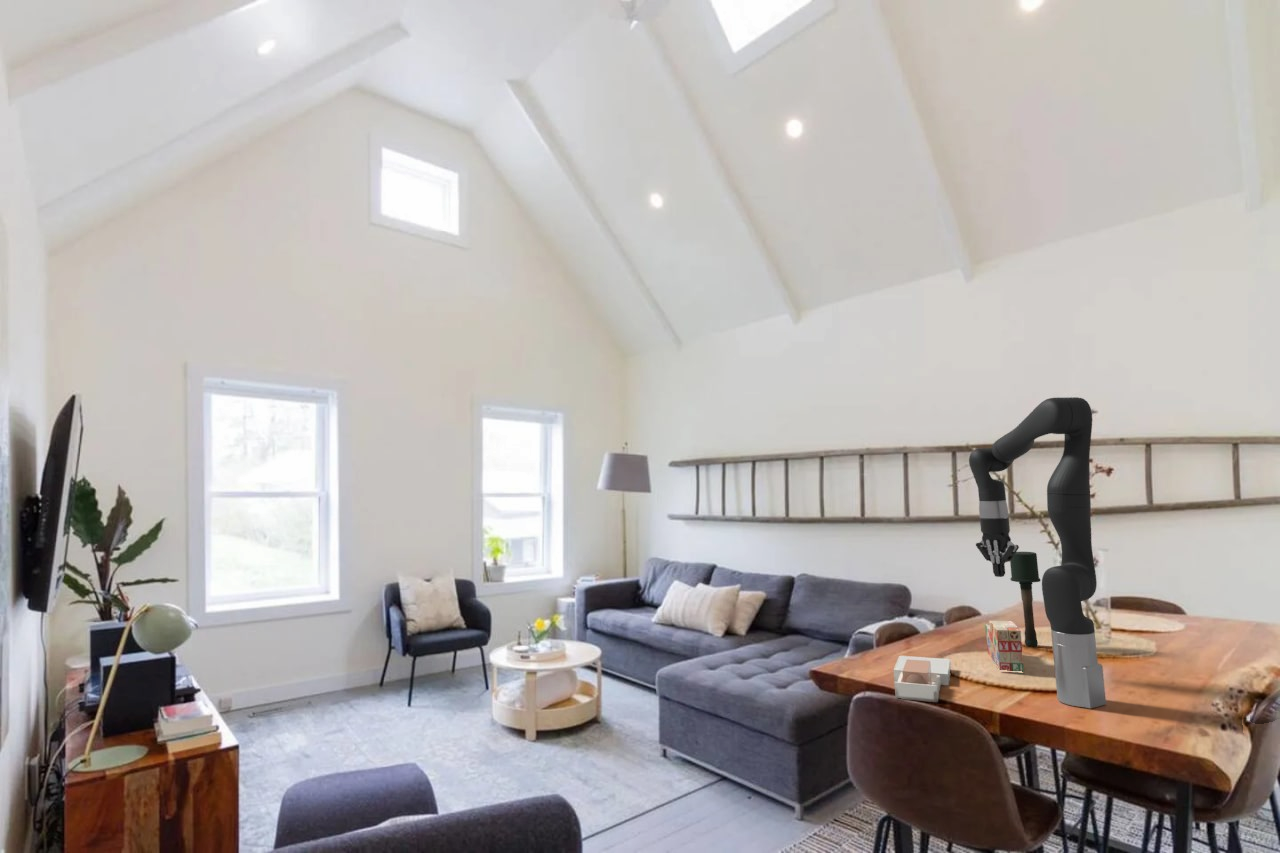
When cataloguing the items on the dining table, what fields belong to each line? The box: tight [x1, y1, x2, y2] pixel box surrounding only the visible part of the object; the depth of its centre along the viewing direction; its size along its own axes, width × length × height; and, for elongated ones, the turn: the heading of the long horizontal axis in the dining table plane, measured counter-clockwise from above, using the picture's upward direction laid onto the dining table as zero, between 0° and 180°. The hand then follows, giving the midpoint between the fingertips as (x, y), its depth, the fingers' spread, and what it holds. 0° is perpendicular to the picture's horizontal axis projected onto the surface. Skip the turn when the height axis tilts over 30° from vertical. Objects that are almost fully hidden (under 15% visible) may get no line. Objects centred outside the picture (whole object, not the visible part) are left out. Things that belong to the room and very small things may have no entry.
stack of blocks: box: [984, 620, 1025, 673], centre depth 201 cm, size 21×6×12 cm, turn 161°
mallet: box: [1009, 551, 1041, 648], centre depth 219 cm, size 8×9×30 cm
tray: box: [894, 672, 942, 703], centre depth 179 cm, size 15×10×4 cm, turn 153°
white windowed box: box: [893, 655, 952, 686], centre depth 193 cm, size 16×14×3 cm
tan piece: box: [902, 659, 932, 685], centre depth 179 cm, size 6×6×13 cm
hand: (999, 576), depth 195 cm, fingers closed
